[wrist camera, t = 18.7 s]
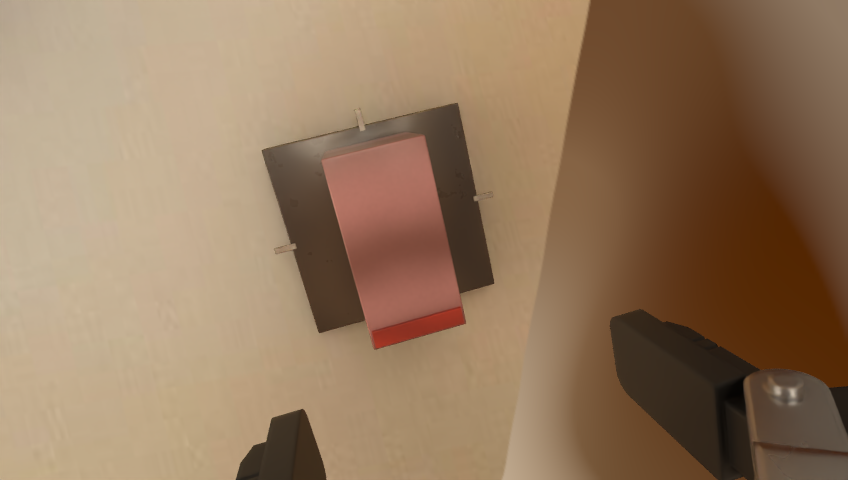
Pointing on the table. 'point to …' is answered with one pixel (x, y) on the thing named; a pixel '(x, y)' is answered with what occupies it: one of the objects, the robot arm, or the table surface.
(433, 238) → the pink rectangular block
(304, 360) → the table surface
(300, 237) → the brown square platform
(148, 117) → the table surface
